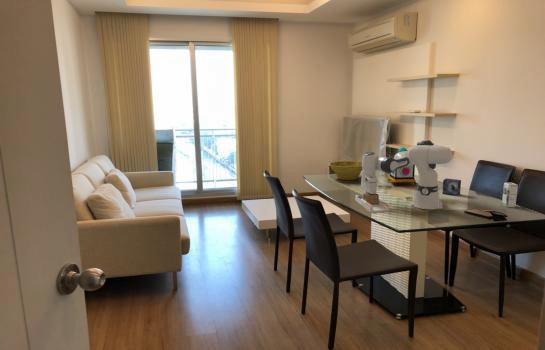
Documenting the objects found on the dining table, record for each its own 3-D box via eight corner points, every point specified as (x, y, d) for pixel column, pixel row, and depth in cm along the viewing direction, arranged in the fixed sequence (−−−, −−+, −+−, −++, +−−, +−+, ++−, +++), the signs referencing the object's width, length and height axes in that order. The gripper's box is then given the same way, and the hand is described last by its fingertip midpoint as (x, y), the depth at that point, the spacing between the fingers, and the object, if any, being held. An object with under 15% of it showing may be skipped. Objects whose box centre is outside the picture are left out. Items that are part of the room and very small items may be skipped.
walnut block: (363, 202, 257) (363, 193, 256) (375, 201, 258) (375, 192, 257) (366, 204, 252) (366, 195, 250) (378, 204, 252) (378, 195, 251)
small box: (441, 194, 279) (442, 179, 277) (445, 192, 284) (446, 178, 282) (457, 196, 272) (458, 181, 270) (460, 194, 277) (461, 179, 275)
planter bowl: (324, 176, 353) (324, 161, 350) (359, 174, 356) (359, 159, 354) (334, 183, 321) (334, 167, 319) (372, 181, 325) (372, 165, 322)
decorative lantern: (418, 186, 304) (420, 148, 298) (392, 186, 304) (393, 148, 299) (409, 181, 324) (411, 145, 318) (385, 181, 324) (386, 145, 318)
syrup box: (501, 204, 248) (503, 182, 245) (510, 204, 248) (513, 182, 245) (506, 207, 243) (508, 184, 240) (516, 207, 242) (518, 184, 240)
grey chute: (355, 200, 268) (355, 194, 267) (372, 199, 269) (372, 193, 268) (370, 212, 239) (370, 205, 238) (389, 211, 240) (389, 204, 239)
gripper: (358, 174, 267) (358, 194, 270) (369, 180, 247) (368, 201, 250) (367, 173, 268) (367, 193, 270) (378, 179, 248) (378, 201, 250)
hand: (367, 197), depth 260 cm, fingers closed
